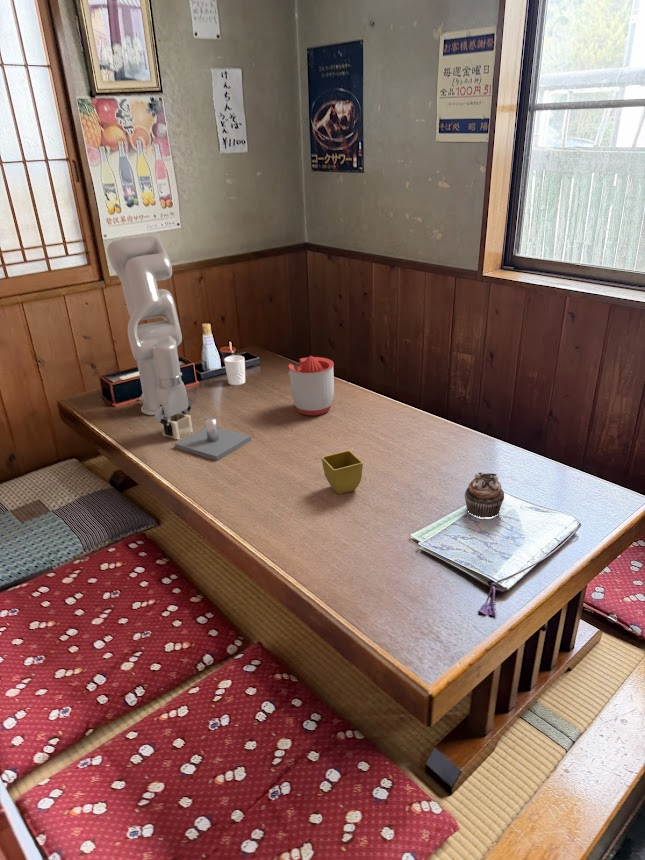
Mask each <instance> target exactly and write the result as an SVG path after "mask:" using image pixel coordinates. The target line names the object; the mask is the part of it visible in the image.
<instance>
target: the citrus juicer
mask: <svg viewBox="0 0 645 860" xmlns="http://www.w3.org/2000/svg"><path fill="white" fill-rule="evenodd" d="M334 364H335V363H334V361H333V360H331V359H329V358H326V357H322V356H321V357H320V356H312V355H309V356H308V357H302V358H299V366H298V367H295V365H294V364H291V363H289V364H288V368H289V371H288V372H287V376H289V378H290V390H291V391H290V392H291V396H292V397H291V398H292V400H293V403H294V406H295V409H296V410H297V412H298V413H299V414H302V415H306V416H319V415H323V414H326V413H328V412H330V410H331V408H332V404H333V399H334V396H335V395H334V394H335V377H334V375H335V374H334Z"/></svg>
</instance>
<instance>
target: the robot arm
mask: <svg viewBox="0 0 645 860" xmlns="http://www.w3.org/2000/svg"><path fill="white" fill-rule="evenodd" d="M106 249H107V255H108V256H107V257H108V259H109V262H110V265H111V267H112V269H113V271H114V272H115V274H116V275H117V277H118V279H119V281H120V284H121V287H122V291H123V296H124V300H125V305H126V308H127V312H128V315H129V316H130V318H129V320H128V324H127V337H128V338H127V339H128V341H129V346H130V349H131V353H132V357H133V359H134V360H135V361H136V364H137V369H138V375H139V380H140V385H141V391H142V394H141V395H140V397H139V398H138V400H139V401H141V402H142V403H143V404H142V406H141V407H140V408H141V413H142V414H144V415H147V416H154V419H155V420H156V421H157V422H158V423H160V425H161V424H163V426H164V432H165V434H166V435H169V436H173V432H172V426H171V425H170V420H171V417H172V416H174V415H176V414H178V413H183V414H187V415H190V411H191V409H192V405H193V402H194V401H193V400H192V399H191V398H188V394H187V390H186V387H185V384H184V381H183V380H182V377H183V373H182V372H181V368H180V361H179V354H178V346H179V345H181V343H182V341H183V335H182V331H181V329H182V328H181V325H180V320H179V316H178V312H177V308H176V302H175V300H174V298H173V294H172V293H171V292H170V291H169V290H168V289H166V288H158V287H159V286H158V283H157V281H164V280H169V279H170V278H172V275H173V266H172V263H171V260H170V257H169V255H168V253H167V251H166V249H165V247H164V246H163V243H162V242H161V239H159V237H158V236H153V235H150V236H148V235H147V236H139V237H128V238H121V239H117V240H113V241H111V242H109V244H108V245H107V248H106ZM157 318H159V319H160V318H162V320H161V321H154V322H148V323H141V324H139V322H140V321H145V320H150V319H152V320H153V319H157ZM166 417H167V421H166Z"/></svg>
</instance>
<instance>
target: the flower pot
mask: <svg viewBox="0 0 645 860" xmlns="http://www.w3.org/2000/svg"><path fill="white" fill-rule="evenodd" d="M321 463H322V469H323V472H324V476H325V478H326V480H327V482H328V484H329V485H330V487H331V488H332V489H333V490H334V491H335V492H336V493H337V494H338V495H342V494H345V493H348V492H352V491H353V492H354V491H355V490H356V489H357V488H358V487H359V485H360V483H361V481H362V476H363V466H364V462H363V461H362V459H360V458H359V457H357V456H356V454H354V453H353V452H352V451H351V450H344V451H341V452H336V453H331V454H328V455H324V456H321Z"/></svg>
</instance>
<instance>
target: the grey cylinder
mask: <svg viewBox="0 0 645 860" xmlns="http://www.w3.org/2000/svg"><path fill="white" fill-rule="evenodd" d="M217 427H218V426H217V419H216V418H215V417H207V418H205V419H204V428H206V435H207V441H208V442H216V441H218V440H219V438H218V431H217Z"/></svg>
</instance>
